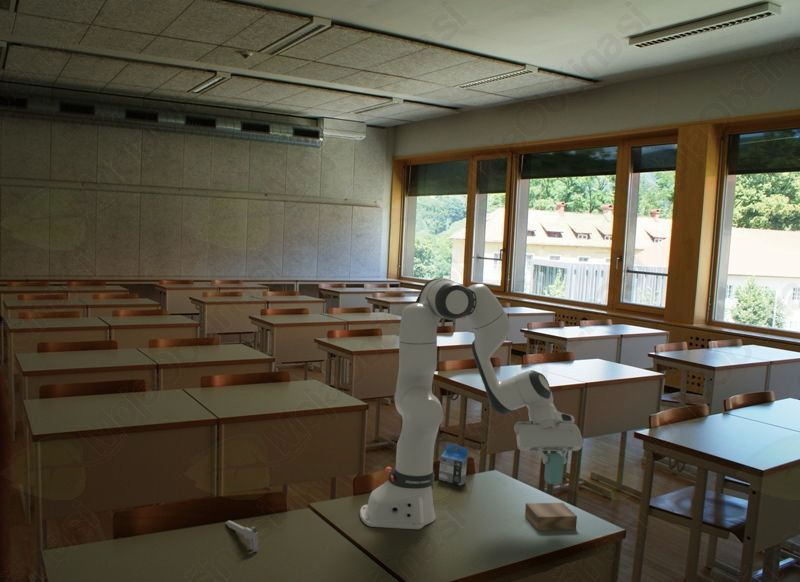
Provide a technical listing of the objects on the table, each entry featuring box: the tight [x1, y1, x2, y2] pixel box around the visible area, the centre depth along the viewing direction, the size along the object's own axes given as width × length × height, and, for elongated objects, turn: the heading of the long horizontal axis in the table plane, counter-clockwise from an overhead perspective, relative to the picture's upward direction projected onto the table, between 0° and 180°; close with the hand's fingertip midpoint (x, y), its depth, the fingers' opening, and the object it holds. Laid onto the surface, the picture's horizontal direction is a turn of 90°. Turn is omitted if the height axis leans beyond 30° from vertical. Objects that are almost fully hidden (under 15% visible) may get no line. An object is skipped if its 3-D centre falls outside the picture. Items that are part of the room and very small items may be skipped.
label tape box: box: [438, 442, 468, 486], centre depth 233 cm, size 9×4×12 cm, turn 55°
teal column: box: [543, 452, 565, 485], centre depth 202 cm, size 4×4×8 cm
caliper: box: [225, 520, 259, 553], centre depth 182 cm, size 20×1×6 cm, turn 35°
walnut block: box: [524, 502, 578, 531], centre depth 203 cm, size 12×10×4 cm
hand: (555, 462), depth 201 cm, fingers closed on teal column, 4 cm apart
